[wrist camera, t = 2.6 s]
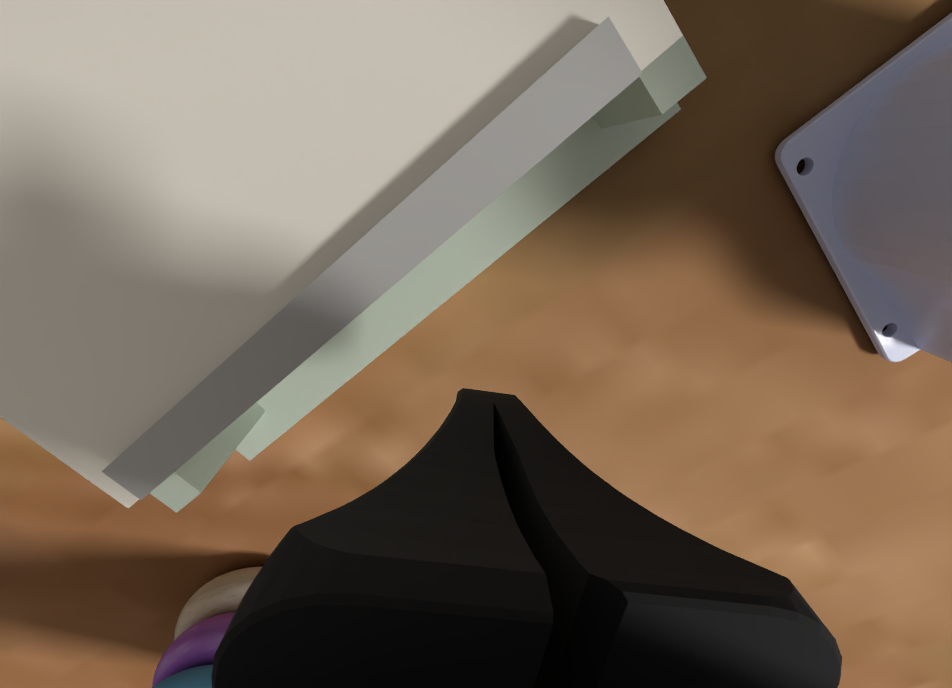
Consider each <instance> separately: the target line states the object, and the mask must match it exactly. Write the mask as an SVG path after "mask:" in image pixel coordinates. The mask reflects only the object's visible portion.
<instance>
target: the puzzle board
mask: <svg viewBox="0 0 952 688" xmlns="http://www.w3.org/2000/svg"><path fill="white" fill-rule="evenodd" d="M680 31H681V30H680ZM681 33H682V32H681ZM642 73H643V74H642V75H641V76H639V77H638V78H637V79H636V80H635V81H633V82H632V83H631V84H630V85H629V86H628V87H626V88H625V89H624V90H623V91H622V92H621V93H619V94H618V95H617V96H616V97H615V98H613V99H612V100H611V101H610V102H609V103H608V104H606V105H605V106H604V107H603V108H602V109H601V110H599V111H598V112H597V113H596V114H595V115H593V116H592V117H591V118H590V119H589V120H588V121H586V122H585V123H584V124H583V125H582V126H581V127H579V128H578V129H577V130H576V131H575V132H574V133H572V134H571V135H570V136H569V137H568V138H566V139H565V140H564V141H563V142H562V143H561V144H559V145H558V146H557V147H556V148H555V149H554V150H552V151H551V152H550V153H549V154H548V155H546V156H545V157H544V158H543V159H542V160H541V161H539V162H538V163H537V164H536V165H535V166H534V167H532V168H531V169H530V170H529V171H528V172H526V173H525V174H524V175H523V176H522V177H521V178H519V179H518V180H517V181H516V182H515V183H514V184H512V185H511V186H510V187H509V188H508V189H506V190H505V191H504V192H503V193H502V194H501V195H499V196H498V197H497V198H496V199H495V200H494V201H492V202H491V203H490V204H489V205H488V206H487V207H485V208H484V209H483V210H482V211H481V212H479V213H478V214H477V215H476V216H475V217H474V218H472V219H471V220H470V221H469V222H468V223H467V224H465V225H464V226H463V227H462V228H461V229H459V230H458V231H457V232H456V233H455V234H454V235H452V236H451V237H450V238H449V239H448V240H447V241H445V242H444V243H443V244H442V245H441V246H439V247H438V248H437V249H436V250H435V251H434V252H432V253H431V254H430V255H429V256H428V257H427V258H425V259H424V260H423V261H422V262H421V263H420V264H418V265H417V266H416V267H415V268H414V269H412V270H411V271H410V272H409V273H408V274H407V275H405V276H404V277H403V278H402V279H401V280H400V281H398V282H397V283H396V284H395V285H394V286H392V287H391V288H390V289H389V290H388V291H387V292H385V293H384V294H383V295H382V296H381V297H380V298H378V299H377V300H376V301H375V302H374V303H372V304H371V305H370V306H369V307H368V308H367V309H365V310H364V311H363V312H362V313H361V314H360V315H358V316H357V317H356V318H355V319H354V320H352V321H351V322H350V323H349V324H348V325H347V326H345V327H344V328H343V329H342V330H341V331H340V332H338V333H337V334H336V335H335V336H334V337H333V338H331V339H330V340H329V341H328V342H327V343H325V344H324V345H323V346H322V347H321V348H320V349H318V350H317V351H316V352H315V353H314V354H313V355H311V356H310V357H309V358H308V359H307V360H305V361H304V362H303V363H302V364H301V365H300V366H298V367H297V368H296V369H295V370H294V371H293V372H291V373H290V374H289V375H288V376H287V377H285V378H284V379H283V380H282V381H281V382H280V383H278V384H277V385H276V386H275V387H274V388H273V389H271V390H270V391H269V392H268V393H267V394H266V395H264V396H263V397H262V398H261V399H260V400H258V401H257V402H256V403H255V404H254V405H253V406H251V407H250V408H249V409H248V410H247V411H246V412H244V413H243V414H242V415H241V416H240V417H238V418H237V419H236V420H235V421H234V422H233V423H231V424H230V425H229V426H228V427H227V428H226V429H224V430H223V431H222V432H221V433H220V434H218V435H217V436H216V437H215V438H214V439H213V440H211V441H210V442H209V443H208V444H207V445H206V446H204V447H203V448H202V449H201V450H200V451H198V452H197V453H196V454H195V455H194V456H193V457H191V458H190V459H189V460H188V461H187V462H186V463H184V464H183V465H182V466H181V467H180V468H179V469H177V470H176V471H175V472H174V473H173V474H171V475H170V476H169V477H168V478H167V479H166V480H164V481H163V482H162V483H161V484H160V485H159V486H157V487H156V488H155V489H154V490H153V491H151V492H150V494H152V495H153V496H154V497H156V498H157V499H159V500H160V501H161V502H163V503H164V504H165V505H167V506H168V507H169V508H171V509H172V510H173V511H175V512H176V513H177V512H178V511H179V510H181V509H182V508H183V507H184V506H185V505H187V504H188V503H189V502H190V501H192V500H193V499H194V498H195V497H196V496H198V495H199V494H200V493H201V492H202V491H203V490H204V488H205V487H206V486H207V485H208V483H209V482H210V481H211V479H212V478H213V477H214V476H215V474H216V473H217V472H218V471H219V469H220V468H221V467H222V466H223V464H224V463H225V462H226V461H227V459H228V458H229V457H230V455H231V454H232V453H233V452H234V450H235V449H236V450H237V451H238V452H239V453H241V454H242V455H243V456H244V457H246V458H247V459H248V460H249V461H250V460H251V459H253V458H254V457H255V456H256V455H257V454H259V453H260V452H261V451H262V450H264V449H265V448H266V447H267V446H268V445H270V444H271V443H272V442H273V441H275V440H276V439H277V438H278V437H280V436H281V435H282V434H283V433H284V432H286V431H287V430H288V429H289V428H291V427H292V426H293V425H294V424H295V423H297V422H298V421H299V420H300V419H302V418H303V417H304V416H305V415H307V414H308V413H309V412H310V411H311V410H313V409H314V408H315V407H316V406H318V405H319V404H320V403H321V402H322V401H324V400H325V399H326V398H327V397H329V396H330V395H331V394H332V393H334V392H335V391H336V390H337V389H338V388H340V387H341V386H342V385H343V384H345V383H346V382H347V381H348V380H349V379H351V378H352V377H353V376H354V375H356V374H357V373H358V372H359V371H361V370H362V369H363V368H364V367H365V366H367V365H368V364H369V363H370V362H372V361H373V360H374V359H375V358H376V357H378V356H379V355H380V354H381V353H383V352H384V351H385V350H386V349H388V348H389V347H390V346H391V345H392V344H394V343H395V342H396V341H397V340H399V339H400V338H401V337H402V336H403V335H405V334H406V333H407V332H408V331H410V330H411V329H412V328H413V327H415V326H416V325H417V324H418V323H419V322H421V321H422V320H423V319H424V318H426V317H427V316H428V315H429V314H430V313H432V312H433V311H434V310H435V309H437V308H438V307H439V306H440V305H442V304H443V303H444V302H445V301H446V300H448V299H449V298H450V297H451V296H453V295H454V294H455V293H456V292H457V291H459V290H460V289H461V288H462V287H464V286H465V285H466V284H467V283H469V282H470V281H471V280H472V279H473V278H475V277H476V276H477V275H478V274H480V273H481V272H482V271H483V270H484V269H486V268H487V267H488V266H489V265H491V264H492V263H493V262H494V261H496V260H497V259H498V258H499V257H500V256H502V255H503V254H504V253H505V252H507V251H508V250H509V249H510V248H511V247H513V246H514V245H515V244H516V243H518V242H519V241H520V240H521V239H523V238H524V237H525V236H526V235H527V234H529V233H530V232H531V231H532V230H534V229H535V228H536V227H537V226H538V225H540V224H541V223H542V222H543V221H545V220H546V219H547V218H548V217H550V216H551V215H552V214H553V213H554V212H556V211H557V210H558V209H559V208H561V207H562V206H563V205H564V204H565V203H567V202H568V201H569V200H570V199H572V198H573V197H574V196H575V195H576V194H578V193H579V192H580V191H581V190H583V189H584V188H585V187H586V186H588V185H589V184H590V183H591V182H592V181H594V180H595V179H596V178H597V177H599V176H600V175H601V174H602V173H603V172H605V171H606V170H607V169H608V168H610V167H611V166H612V165H613V164H615V163H616V162H617V161H618V160H619V159H621V158H622V157H623V156H624V155H626V154H627V153H628V152H629V151H630V150H632V149H633V148H634V147H635V146H637V145H638V144H639V143H640V142H642V141H643V140H644V139H645V138H646V137H648V136H649V135H650V134H651V133H653V132H654V131H655V130H656V129H657V128H659V127H660V126H661V125H662V124H664V123H665V122H666V121H667V120H669V119H670V118H671V117H672V116H673V115H675V114H676V113H677V112H678V111H680V110H681V108H680V106H679V105H678V103H677V102H678V101H679V100H680V99H682V98H683V97H684V96H685V95H687V94H688V93H689V92H690V91H691V90H693V89H694V88H695V87H696V86H697V85H699V84H700V83H701V82H702V81H704V80H705V79H706V78H707V77H706V75H705V74H704V72H703V70H702V68H701V66H700V65H699V63H698V61H697V59H696V57H695V56H694V54H693V52H692V50H691V48H690V47H689V45H688V43H687V41H686V39H685V38H684V36H682V37H681V38H679V39H678V40H677V41H676V42H675V43H674V44H672V45H671V46H670V47H669V48H668V49H667V50H665V51H664V52H663V53H662V54H661V55H660V56H658V57H657V58H656V59H655V60H654V61H652V62H651V63H650V64H649V65H648V66H647V67H645V68H644V69H643V70H642Z"/></svg>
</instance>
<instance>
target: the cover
mask: <svg viewBox="0 0 952 688" xmlns="http://www.w3.org/2000/svg"><path fill="white" fill-rule="evenodd" d="M682 36H683V34H682V33H681V31H680V29H679V27H678V25H677V24H676V22H675V20H674V18H673V16H672V15H671V13H670V11H669V9H668V7H667V6H666V4H665V2H664V0H0V417H1V418H2V419H3V420H5V421H6V422H8V423H9V424H10V425H12V426H13V427H15V428H16V429H17V430H19V431H20V432H22V433H23V434H24V435H26V436H27V437H29V438H30V439H31V440H33V441H34V442H36V443H37V444H38V445H40V446H41V447H43V448H44V449H45V450H47V451H48V452H50V453H51V454H52V455H54V456H55V457H57V458H58V459H59V460H61V461H62V462H64V463H65V464H66V465H68V466H69V467H71V468H72V469H73V470H75V471H76V472H78V473H79V474H80V475H82V476H83V477H85V478H86V479H87V480H89V481H90V482H92V483H93V484H95V485H96V486H97V487H99V488H100V489H102V490H103V491H104V492H106V493H107V494H109V495H110V496H111V497H113V498H114V499H116V500H117V501H118V502H120V503H121V504H123V505H124V506H125V507H127V508H129V507H131V506H132V505H133V504H134V503H135V502H136V501H138V500H139V499H140V500H142V499H143V498H144V497H146V496H147V495H148V494H149V493H150V492H151V491H153V490H154V489H155V488H156V487H157V486H159V485H160V484H161V483H162V482H163V481H164V480H166V479H167V478H168V477H169V476H170V475H171V474H173V473H174V472H175V471H176V470H177V469H179V468H180V467H181V466H182V465H183V464H184V463H186V462H187V461H188V460H189V459H190V458H191V457H193V456H194V455H195V454H196V453H197V452H198V451H200V450H201V449H202V448H203V447H204V446H206V445H207V444H208V443H209V442H210V441H211V440H213V439H214V438H215V437H216V436H217V435H218V434H220V433H221V432H222V431H223V430H224V429H226V428H227V427H228V426H229V425H230V424H231V423H233V422H234V421H235V420H236V419H237V418H238V417H240V416H241V415H242V414H243V413H244V412H246V411H247V410H248V409H249V408H250V407H251V406H253V405H254V404H255V403H256V402H257V401H258V400H260V399H261V398H262V397H263V396H264V395H266V394H267V393H268V392H269V391H270V390H271V389H273V388H274V387H275V386H276V385H277V384H278V383H280V382H281V381H282V380H283V379H284V378H285V377H287V376H288V375H289V374H290V373H291V372H293V371H294V370H295V369H296V368H297V367H298V366H300V365H301V364H302V363H303V362H304V361H305V360H307V359H308V358H309V357H310V356H311V355H313V354H314V353H315V352H316V351H317V350H318V349H320V348H321V347H322V346H323V345H324V344H325V343H327V342H328V341H329V340H330V339H331V338H333V337H334V336H335V335H336V334H337V333H338V332H340V331H341V330H342V329H343V328H344V327H345V326H347V325H348V324H349V323H350V322H351V321H352V320H354V319H355V318H356V317H357V316H358V315H360V314H361V313H362V312H363V311H364V310H365V309H367V308H368V307H369V306H370V305H371V304H372V303H374V302H375V301H376V300H377V299H378V298H380V297H381V296H382V295H383V294H384V293H385V292H387V291H388V290H389V289H390V288H391V287H392V286H394V285H395V284H396V283H397V282H398V281H400V280H401V279H402V278H403V277H404V276H405V275H407V274H408V273H409V272H410V271H411V270H412V269H414V268H415V267H416V266H417V265H418V264H420V263H421V262H422V261H423V260H424V259H425V258H427V257H428V256H429V255H430V254H431V253H432V252H434V251H435V250H436V249H437V248H438V247H439V246H441V245H442V244H443V243H444V242H445V241H447V240H448V239H449V238H450V237H451V236H452V235H454V234H455V233H456V232H457V231H458V230H459V229H461V228H462V227H463V226H464V225H465V224H467V223H468V222H469V221H470V220H471V219H472V218H474V217H475V216H476V215H477V214H478V213H479V212H481V211H482V210H483V209H484V208H485V207H487V206H488V205H489V204H490V203H491V202H492V201H494V200H495V199H496V198H497V197H498V196H499V195H501V194H502V193H503V192H504V191H505V190H506V189H508V188H509V187H510V186H511V185H512V184H514V183H515V182H516V181H517V180H518V179H519V178H521V177H522V176H523V175H524V174H525V173H526V172H528V171H529V170H530V169H531V168H532V167H534V166H535V165H536V164H537V163H538V162H539V161H541V160H542V159H543V158H544V157H545V156H546V155H548V154H549V153H550V152H551V151H552V150H554V149H555V148H556V147H557V146H558V145H559V144H561V143H562V142H563V141H564V140H565V139H566V138H568V137H569V136H570V135H571V134H572V133H574V132H575V131H576V130H577V129H578V128H579V127H581V126H582V125H583V124H584V123H585V122H586V121H588V120H589V119H590V118H591V117H592V116H593V115H595V114H596V113H597V112H598V111H599V110H601V109H602V108H603V107H604V106H605V105H606V104H608V103H609V102H610V101H611V100H612V99H613V98H615V97H616V96H617V95H618V94H619V93H621V92H622V91H623V90H624V89H625V88H626V87H628V86H629V85H630V84H631V83H632V82H633V81H635V80H636V79H637V78H638V77H639V76H641V75H642V74H643V73H642V70H643V69H644V68H645V67H647V66H648V65H649V64H650V63H651V62H652V61H654V60H655V59H656V58H657V57H658V56H660V55H661V54H662V53H663V52H664V51H665V50H667V49H668V48H669V47H670V46H671V45H672V44H674V43H675V42H676V41H677V40H678V39H679V38H681V37H682Z"/></svg>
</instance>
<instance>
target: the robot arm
mask: <svg viewBox="0 0 952 688" xmlns="http://www.w3.org/2000/svg"><path fill="white" fill-rule="evenodd" d="M801 159H803V160H804V161H805V167H804V170H803V171H802V172H801V173H800V174H798V173H797V169H796V168H797V165H798V163H799V161H800V160H801ZM775 161H776V164H777V166H778V168H779V170H780V172H781V174H782V176H783V177H784V179H785V181H786V183H787V185H788V187H789V189H790V190H791V192H792V194H793V196H794V198H795V200H796V202H797V203H798V205H799V207H800V209H801V211H802V213H803V215H804V216H805V218H806V220H807V222H808V224H809V226H810V228H811V229H812V231H813V233H814V235H815V237H816V239H817V241H818V242H819V244H820V246H821V248H822V250H823V252H824V254H825V256H826V257H827V259H828V261H829V263H830V265H831V267H832V269H833V270H834V272H835V274H836V276H837V278H838V280H839V282H840V283H841V285H842V287H843V289H844V291H845V293H846V295H847V296H848V298H849V300H850V302H851V304H852V306H853V308H854V309H855V311H856V313H857V315H858V317H859V319H860V321H861V322H862V324H863V326H864V328H865V330H866V332H867V334H868V335H869V337H870V339H871V341H872V343H873V345H874V347H875V348H876V350H877V352H878V354H879V355H880V356H881V357H882V358H883V359H886V360H888V361H891V362H899V361H901V360H904V359H905V358H907V357H909V356H910V355H912V354H914V353H915V352H917V351H919V350H920V349H921V350H923V351H926V352H928V353H930V354H933V355H935V356H938V357H940V358H943V359H945V360H947V361H950V362H952V12H951V13H950V14H949V15H948V16H946V17H945V18H944V19H942V20H941V21H940V22H938V23H937V24H936V25H934V26H933V27H932V28H930V29H929V30H928V31H926V32H925V33H924V34H922V35H921V36H920V37H919V38H917V39H916V40H915V41H913V42H912V43H911V44H909V45H908V46H907V47H905V48H904V49H903V50H901V51H900V52H899V53H897V54H896V55H895V56H893V57H892V58H891V59H890V60H888V61H887V62H886V63H884V64H883V65H882V66H880V67H879V68H878V69H876V70H875V71H874V72H872V73H871V74H870V75H868V76H867V77H866V78H864V79H863V80H862V81H860V82H859V83H858V84H857V85H855V86H854V87H853V88H851V89H850V90H849V91H847V92H846V93H845V94H843V95H842V96H841V97H839V98H838V99H837V100H835V101H834V102H833V103H831V104H830V105H829V106H828V107H826V108H825V109H824V110H822V111H821V112H820V113H818V114H817V115H816V116H814V117H813V118H812V119H810V120H809V121H808V122H806V123H805V124H804V125H802V126H801V127H800V128H798V129H797V130H796V131H795V132H793V133H792V134H791V135H789V136H788V137H787V138H785V139H784V140H783V141H782V142H781V143H780V144H779V145H778V147H777V149H776V152H775ZM887 324H888V326H887V328H886V330H885V331H883V332H882V330H883V328H884V327H885V326H886V325H887ZM841 664H842V656H841V654H840V651H839V648H838V645H837V642H836V640H835V638H834V637H833V636H832V634H831V633H830V632H829V630H828V629H827V628H826V627H825V625H824V624H823V623H822V621H821V620H820V619H819V618H818V616H817V615H816V614H815V612H814V611H813V610H812V608H811V607H810V606H809V605H808V603H807V602H806V601H805V599H804V598H803V597H802V596H801V594H800V593H799V592H798V590H797V589H796V588H795V587H794V585H793V584H792V583H791V581H790V580H789V579H788V578H786V577H784V576H782V575H779V574H777V573H775V572H772V571H770V570H768V569H765V568H763V567H761V566H758V565H756V564H754V563H751V562H749V561H747V560H744V559H742V558H740V557H737V556H735V555H733V554H731V553H728V552H726V551H724V550H721V549H719V548H717V547H715V546H713V545H711V544H709V543H707V542H705V541H703V540H701V539H699V538H697V537H695V536H693V535H691V534H689V533H688V532H686V531H684V530H682V529H680V528H678V527H676V526H674V525H673V524H671V523H669V522H667V521H665V520H664V519H662V518H660V517H658V516H657V515H655V514H653V513H652V512H650V511H649V510H647V509H645V508H644V507H642V506H641V505H639V504H637V503H636V502H634V501H633V500H631V499H629V498H628V497H626V496H625V495H623V494H622V493H621V492H619V491H618V490H616V489H615V488H613V487H612V486H611V485H609V484H608V483H607V482H605V481H604V480H603V479H601V478H600V477H599V476H597V475H596V474H595V473H593V472H592V471H591V470H590V469H589V468H587V467H586V466H585V465H584V464H583V463H581V462H580V461H579V460H578V459H577V458H576V457H575V456H574V455H572V454H571V453H570V452H569V451H568V450H567V449H566V448H565V447H564V446H563V445H562V444H561V443H560V442H559V441H557V440H556V439H555V438H554V437H553V436H552V435H551V433H550V432H549V431H548V430H547V429H546V428H545V427H544V426H543V425H542V424H541V423H540V422H539V421H538V420H537V419H536V418H535V416H534V415H533V414H532V413H531V412H530V411H529V410H528V409H527V408H526V406H525V405H524V404H523V403H522V402H521V401H520V400H519V399H518V398H517V397H516V396H515V395H510V394H503V393H495V392H488V391H480V390H473V389H465V388H463V389H461V390H460V391H458V393H457V399H456V402H455V404H454V406H453V408H452V410H451V412H450V413H449V415H448V416H447V418H446V419H445V421H444V422H443V424H442V425H441V427H440V428H439V429H438V431H437V432H436V433H435V434H434V435H433V437H432V438H431V439H430V440H429V442H428V443H427V444H426V445H425V446H424V447H423V448H422V449H421V450H420V451H419V452H418V453H417V454H416V455H415V456H414V457H413V458H412V459H411V460H410V461H409V462H408V463H407V464H406V465H404V466H403V467H402V468H401V469H399V470H398V471H397V472H396V473H394V474H393V475H392V476H391V477H389V478H388V479H387V480H385V481H384V482H383V483H381V484H380V485H378V486H377V487H375V488H374V489H372V490H370V491H369V492H367V493H365V494H364V495H362V496H360V497H359V498H357V499H355V500H353V501H351V502H349V503H347V504H345V505H343V506H341V507H339V508H337V509H335V510H332V511H330V512H328V513H325V514H323V515H321V516H318V517H316V518H313V519H311V520H309V521H306V522H304V523H301V524H298V525H296V526H294V527H292V528H291V529H290V530H289V532H288V533H287V534H286V535H285V536H284V538H283V539H282V540H281V542H280V543H279V544H278V546H277V547H276V548H275V550H274V551H273V552H272V554H271V555H270V557H269V558H268V559H267V561H266V562H265V564H264V565H263V567H262V568H261V570H260V571H259V573H258V574H257V576H256V577H255V579H254V580H253V582H252V583H251V585H250V586H249V588H248V590H247V591H246V593H245V595H244V597H243V598H242V600H241V602H240V604H239V606H238V608H237V610H236V612H235V614H234V616H233V618H232V620H231V622H230V624H229V626H228V628H227V630H226V632H225V634H224V636H223V638H222V640H221V642H220V644H219V646H218V648H217V650H216V652H215V655H214V662H213V669H212V676H211V680H212V688H837V687H838V685H839V682H840V677H841Z"/></svg>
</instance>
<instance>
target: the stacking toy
mask: <svg viewBox="0 0 952 688" xmlns="http://www.w3.org/2000/svg"><path fill="white" fill-rule="evenodd" d="M261 568H262V567H250V568H244V569H239V570H235V571H231V572H228V573H226V574H223V575H221V576H218V577H216V578H214V579H213V580H211V581H209V582H208V583H206V584H205V585H203V586H202V587H201V588H200V589H199V590H198V591H196V592H195V593H194V594H193V595H192V596H191V598H190V599H189V600H188V601H187V603H186V604H185V606H184V607H183V609H182V611H181V613H180V615H179V618H178V620H177V624H176V627H175V635H174V641H173V642H172V644H171V645H170V646H169V647H168V649H167V650H166V651H165V653H164V654H163V656H162V658H161V660H160V662H159V664H158V666H157V668H156V671H155V674H154V679H153V686H152V688H212V680H211V676H212V669H213V662H214V655H215V652H216V650H217V648H218V646H219V644H220V642H221V640H222V638H223V636H224V634H225V632H226V630H227V628H228V626H229V624H230V622H231V620H232V618H233V616H234V614H235V612H236V610H237V608H238V606H239V604H240V602H241V600H242V598H243V597H244V595H245V593H246V591H247V590H248V588H249V586H250V585H251V583H252V582H253V580H254V579H255V577H256V576H257V574H258V573H259V571H260V570H261Z"/></svg>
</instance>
